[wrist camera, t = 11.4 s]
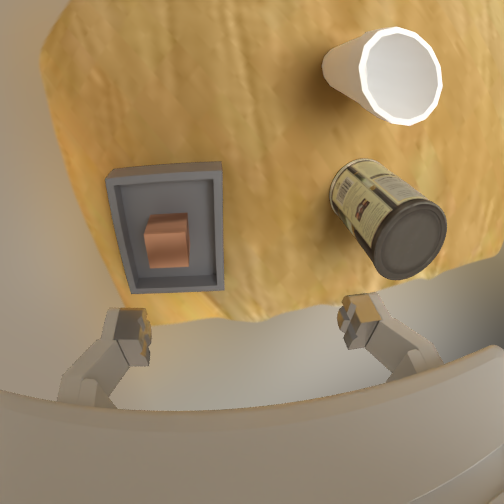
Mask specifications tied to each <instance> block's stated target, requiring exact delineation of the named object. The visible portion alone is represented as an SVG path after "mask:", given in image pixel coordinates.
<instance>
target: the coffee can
mask: <svg viewBox="0 0 504 504" xmlns="http://www.w3.org/2000/svg"><path fill="white" fill-rule="evenodd" d="M329 197H330V203H331V206H332V209H333V210H334V212H335V213H336V214H337V215H338V216H339V217H340V219H341V220H342V221H343V223H344V224H345V225H346V227H347V228H348V229H349V230H350V232H351V233H352V234H353V236H354V237H355V238H356V240H357V241H358V242H359V244H360V245H361V247H362V248H363V249H364V251H365V252H366V254H367V255H368V256H369V258H370V259H371V260H372V262H373V264H374V266H375V268H376V270H377V271H378V273H379V274H380V275H382V276H383V277H385V278H387V279H390V280H402V279H406V278H409V277H412V276H414V275H416V274H417V273H419V272H420V271H422V270H423V269H424V268H426V267H427V266H428V265H429V264H430V263H431V262H432V261H433V259H434V258H435V257H436V256H437V254H438V253H439V251H440V249H441V247H442V245H443V243H444V240H445V237H446V232H447V221H446V216H445V214H444V212H443V211H442V209H441V208H440V207H439V206H438V205H436V204H435V203H433V202H432V201H430V200H428V199H427V198H426V197H425V196H423V195H422V194H421V193H419V192H418V191H417V190H415V189H414V188H413V187H411V186H410V185H409V184H407V183H406V182H405V181H403V180H402V179H401V178H399V177H398V176H396V175H395V174H394V173H392V172H391V171H389V170H388V169H387V168H385V167H384V166H383V165H382V164H380V163H379V162H377V161H375V160H372V159H358V160H355V161H352V162H350V163H348V164H347V165H345V166H344V167H343V168H342V169H341V170H340V171H339V172H338V173H337V175H336V176H335V178H334V180H333V182H332V185H331V188H330V196H329Z"/></svg>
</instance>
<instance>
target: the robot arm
mask: <svg viewBox="0 0 504 504" xmlns="http://www.w3.org/2000/svg"><path fill="white" fill-rule="evenodd" d="M342 304H343V306H342V307H341V308H340V309H339V311H338V315H337V321H338V326H339V329H340V330H341V331H342V332H344V333H345V335H344V341H345V343H346V345H347V348H348V350H351V349H357V348H364V347H365V349H366V350H368V351H369V352H370V353H371V354H372V355H373V356H374V357H375V358H376V359H378V360H379V361H380V362H381V363H382V364H383V365H384V366H385V367H386V368H387V369H388V370H390V371H391V372H392V374H391V376H390V377H389V378H388V380H387V381H386V383H383V384H379V385H375V386H372V387H368V388H364V389H360V390H355V391H351V392H346V393H341V394H337V395H332V396H326V397H321V398H316V399H310V400H304V401H297V402H291V403H284V404H276V405H268V406H259V407H249V408H238V409H224V410H203V411H145V410H144V411H143V410H125V409H117V408H116V406H115V405H114V404H113V403H112V401H111V400H110V399H109V396H110V394H111V393H112V391H113V390H114V389H115V387H116V386H117V384H118V383H119V382H120V380H121V379H122V377H123V376H124V375H125V373H126V372H127V370H128V369H129V368H130V367H129V366H149V361H150V351H149V348H148V346H149V345H150V344H151V339H152V335H151V325H150V322H149V321H148V320H147V312H146V309H145V308H109V309H108V311H107V315H106V318H105V322H104V327H103V331H102V335H101V339H100V340H96V341H95V342H94V343H93V344H92V345H91V346H90V347H89V348H88V349H87V350H86V351H85V352H84V353H83V354H82V355H81V356H80V357H79V358H78V360H76V362H75V363H74V364H73V365H72V366H71V367H70V368H69V369H68V370H67V371H66V372H65V373H64V374H63V375H62V379H61V383H60V388H59V392H58V397H57V402H56V401H50V400H44V399H39V398H34V397H29V396H25V395H20V394H16V393H12V392H7V391H3V390H0V504H504V350H503V349H502V348H500V347H498V346H496V345H491V346H488V347H486V348H483V349H481V350H479V351H476V352H474V353H471V354H469V355H467V356H464V357H462V358H459V359H457V360H454V361H452V362H449V363H446V364H444V363H443V361H442V359H441V357H440V356H439V354H438V352H437V350H436V348H435V347H434V345H433V343H431V342H430V341H428V340H427V339H425V338H424V337H422V336H421V335H419V334H418V333H416V332H415V331H413V330H412V329H410V328H409V327H407V326H406V325H404V324H403V323H401V322H400V321H398V320H397V319H395V318H392V317H391V315H390V314H389V312H388V310H387V309H386V307H385V305H384V303H383V301H382V300H381V298H380V296H379V295H378V293H376V292H372V293H363V294H355V295H347V296H345V297H344V298H343V300H342Z"/></svg>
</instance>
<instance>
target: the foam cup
mask: <svg viewBox="0 0 504 504" xmlns="http://www.w3.org/2000/svg"><path fill="white" fill-rule="evenodd" d="M322 71H323V76H324V78H325V79H326V81H327V82H328V84H329V85H330V86H331V87H333V88H334V89H336V90H338V91H339V92H341V93H343V94H344V95H346V96H348V97H349V98H351V99H353V100H354V101H356V102H358V103H359V104H361V106H362V107H363V108H364V109H366V110H367V111H369V112H370V113H372V114H373V115H375V116H376V117H378V118H380V119H382V120H385V121H387V122H389V123H393V124H400V125H407V126H410V125H413V124H415V123H417V122H420V121H422V120H425V119H426V118H427V117H428V116H429V114H430V113H431V112H432V111H433V110H434V108H435V107H436V106H437V104H438V100H439V97H440V93H441V90H442V77H441V67H440V64H439V62H438V60H437V58H436V56H435V54H434V52H433V50H432V48H431V46H430V45H429V44H428V43H426V42H425V41H424V40H423V39H422V38H421V37H420V36H419V35H418V34H417V33H415V32H412V31H409V30H406V29H403V28H399V27H388V28H381V29H377V30H373V31H369V32H365V33H364V34H363V35H362V36H361V37H358V38H356V39H353V40H351V41H348V42H346V43H344V44H341V45H339V46H337V47H334V48H332V49H331V50H330V51H329V52H328V53H327V54H326V55H325V56H324V59H323V63H322Z"/></svg>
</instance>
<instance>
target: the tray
mask: <svg viewBox="0 0 504 504" xmlns="http://www.w3.org/2000/svg"><path fill="white" fill-rule="evenodd" d="M105 182H106V188H107V194H108V199H109V204H110V210H111V215H112V219H113V224H114V229H115V233H116V238H117V242H118V246H119V250H120V254H121V258H122V262H123V266H124V270H125V274H126V277H127V281H128V285H129V288H130V292H131V294H147V293H177V292H201V291H221V290H224V255H223V189H222V164H221V161H218V162H193V163H175V164H161V165H148V166H137V167H127V168H117V169H113V170H112V171H111V172H110V173H109V174H108V176H107V177H106V178H105ZM170 213H188V225H189V237H190V255H189V267H171V268H150V265H149V260H148V255H147V250H146V245H145V239H144V232H145V229H146V226H147V223H148V220H149V217H150V215H153V214H170Z"/></svg>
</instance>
